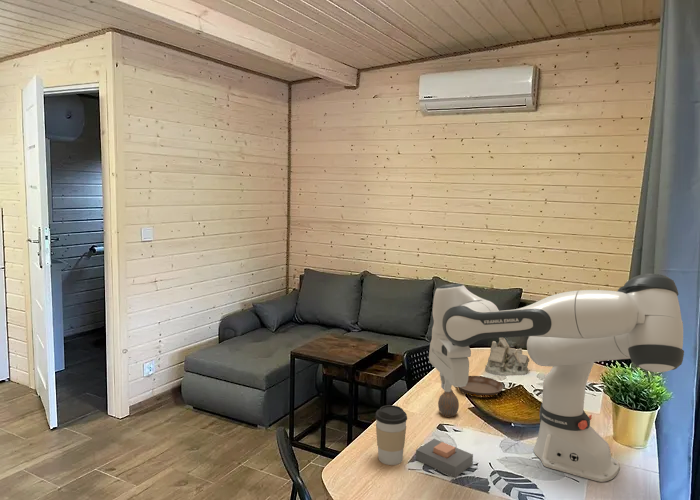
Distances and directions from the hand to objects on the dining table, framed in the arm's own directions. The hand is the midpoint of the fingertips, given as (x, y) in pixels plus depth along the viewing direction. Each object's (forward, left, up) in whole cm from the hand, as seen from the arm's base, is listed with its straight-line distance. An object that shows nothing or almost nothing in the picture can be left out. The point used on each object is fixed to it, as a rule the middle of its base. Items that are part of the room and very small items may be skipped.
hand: (446, 389), depth 143 cm
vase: (+16, -27, -22) cm, 38 cm away
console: (0, 0, -21) cm, 21 cm away
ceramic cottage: (+21, -80, -22) cm, 86 cm away
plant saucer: (+19, -53, -22) cm, 60 cm away
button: (0, 0, -20) cm, 20 cm away
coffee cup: (+12, +9, -22) cm, 26 cm away
